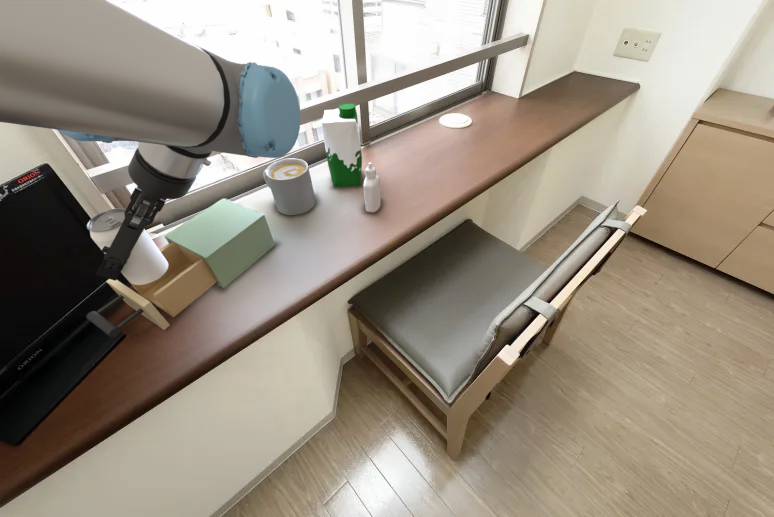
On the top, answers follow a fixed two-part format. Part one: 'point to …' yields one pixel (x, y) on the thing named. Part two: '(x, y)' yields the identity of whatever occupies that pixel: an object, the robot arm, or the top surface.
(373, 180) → the eye dropper bottle
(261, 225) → the cabinet
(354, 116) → the milk carton
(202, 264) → the drawer
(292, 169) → the coffee mug
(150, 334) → the top surface
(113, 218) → the can
